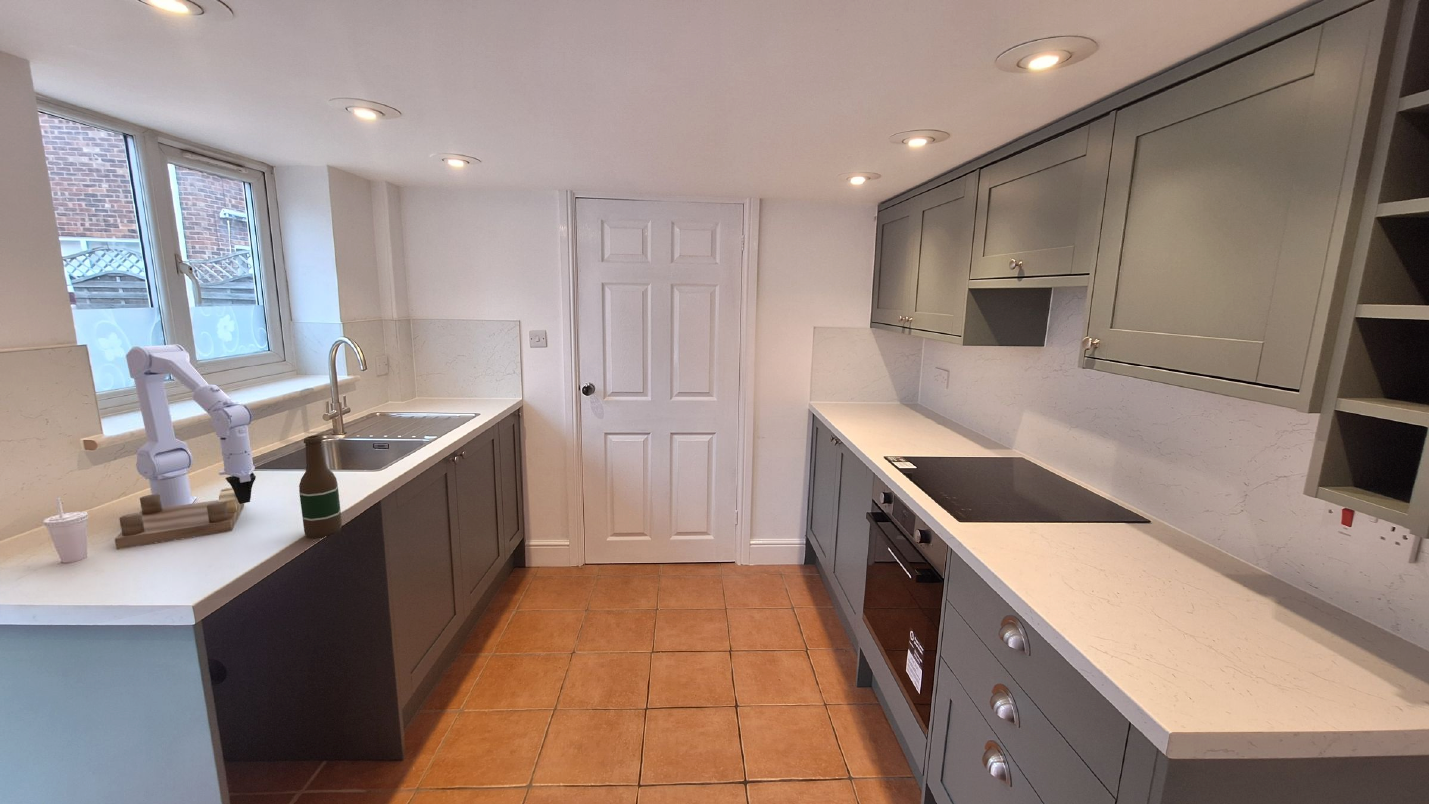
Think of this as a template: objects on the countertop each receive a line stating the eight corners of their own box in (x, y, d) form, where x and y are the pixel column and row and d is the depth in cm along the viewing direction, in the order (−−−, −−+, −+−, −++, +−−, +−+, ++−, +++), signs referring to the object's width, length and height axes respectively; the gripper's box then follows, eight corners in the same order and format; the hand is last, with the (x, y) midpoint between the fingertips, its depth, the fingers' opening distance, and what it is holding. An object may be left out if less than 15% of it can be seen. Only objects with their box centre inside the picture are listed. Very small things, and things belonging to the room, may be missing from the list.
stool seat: (143, 519, 143) (139, 495, 142) (244, 505, 154) (241, 482, 152) (116, 549, 126) (111, 522, 125) (231, 530, 137) (228, 505, 136)
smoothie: (47, 561, 120) (33, 499, 118) (90, 550, 126) (78, 490, 123) (57, 568, 117) (44, 504, 115) (101, 556, 123) (89, 495, 120)
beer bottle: (301, 531, 137) (288, 436, 133) (338, 523, 143) (327, 431, 138) (308, 541, 132) (296, 442, 127) (347, 531, 137) (336, 436, 133)
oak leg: (221, 500, 150) (220, 489, 149) (237, 498, 152) (235, 486, 151) (220, 514, 140) (218, 502, 140) (236, 511, 142) (235, 499, 142)
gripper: (211, 449, 146) (219, 499, 148) (221, 460, 136) (229, 513, 139) (246, 444, 151) (253, 492, 153) (257, 455, 141) (265, 506, 144)
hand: (244, 502), depth 146 cm, fingers closed, pressing on oak leg
